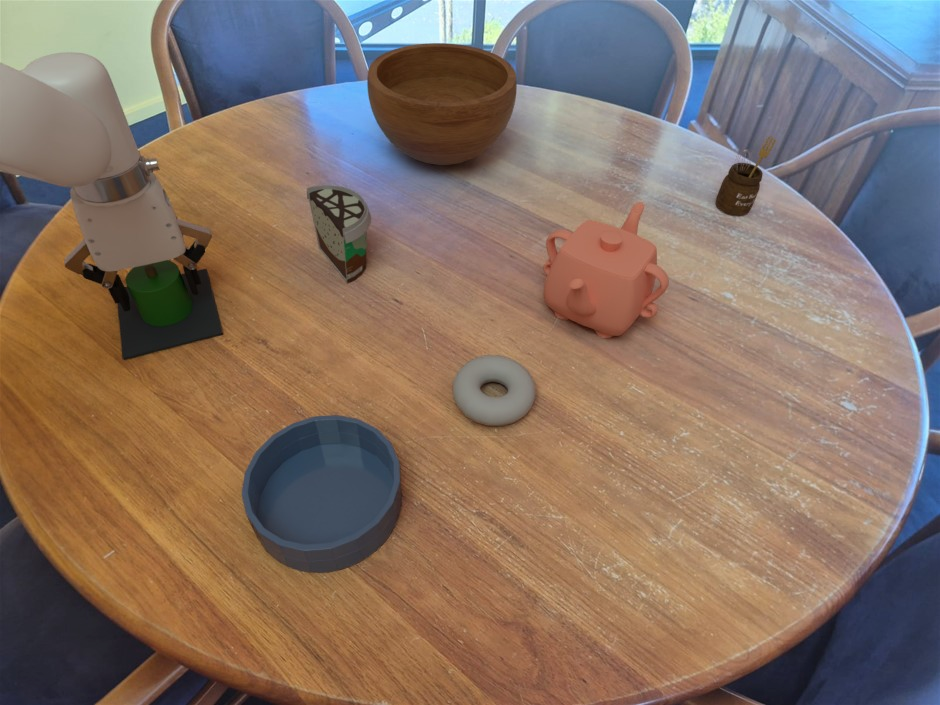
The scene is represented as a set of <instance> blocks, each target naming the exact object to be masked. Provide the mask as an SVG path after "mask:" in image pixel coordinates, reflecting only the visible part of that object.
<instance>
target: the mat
mask: <svg viewBox="0 0 940 705" xmlns="http://www.w3.org/2000/svg"><path fill="white" fill-rule="evenodd" d="M197 271H198V273H199V276H200V280H201V284H199V285H197V289H198V293H199V294H197V295H194V294H192V291H191V289H190V286H189V284H188V281H187V278H186V276H185V273H184V272H183V273H181V275H182V277H183V280H184V283H185V285H186V288H187V290H188V293H189V295H190V298H191V300H192V303H193V307H192V310H191V312H190V314H189V315H188V316H187V317H186V318H184V319H183V320H181V321H180V322H178V323H175V324H172V325H168V326H153V325H150V324H148V323H146V322H145V321H144V320H143V318H142V316H141V314H140V312H139V310H138V308H137V306H136V304H135V301H134V299H133V297H132V295H131V293H130V291H129V289H128V287H127V285H126V286H124V287H125V289H126V291H127V293H128V295H129V301H130V309H129V311H124V310H123V308H122V306H121V304H120V303H117V304H116V305H117V315H118V326H119V335H120V336H119V337H120V345H121V355H122V360H123V361H126V360H130V359H133V358H139V357H142V356H146V355H149V354H154V353H157V352H161V351H165V350H169V349H173V348H177V347H181V346H185V345H187V344H192V343H196V342H201V341H204V340H208V339H211V338H215V337H219V336H222V335H223V336H224V331H223V328H222V324H221V320H220V314H219V312H218V308H217V305H216V300H215V296H214V292H213V289H212V283H211V281H210V276H209V272H208V269H207V268H202V269H197Z"/></svg>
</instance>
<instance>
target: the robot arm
mask: <svg viewBox="0 0 940 705" xmlns="http://www.w3.org/2000/svg"><path fill="white" fill-rule="evenodd" d="M160 169H161V168H160V165H159V162H158V160H157V158H156V157H154V158H149V157H146V158H145V155H142V154H141V151H140V150H139V147H138V146H137V143H136V140H135V138H134V135H133V133H132V131H131V127H130V125H129V121H128V120H127V117H126V115H125V112H124V109H123V107H122V104H121V101H120V99H119V96H118V93H117V91H116V88H115V86H114V83H113V81H112V78H111V76H110V73H109V71H108V69H107V68H106V66H105V65H104V64H103V63H102V62H101V60H100V59H98V58H96V57H94V56H92V55H90V54H88V53H84V52H73V51H71V52H69V51H66V52H57V53H50V54H46V55H43V56H41V57H38V58H36V59H34V60H32V61H30V62H29V63H28V64H27V65H26V66H25V67H24V68H23V69H21V70H18V69H16V68H14V67H11V66H9V65H7V64H5V63H3V62H0V173H5V174H8V175H13V176H19V177H23V178H27V179H31V180H35V181H40V182H43V183H47V184H51V185H54V186H59V187H64V188H70V190H69V194H70V200H71V204H72V207H73V211H74V214H75V218H76V221H77V224H78V226H79V229H80V232H81V235H82V237H83V239H82V240H81V241H80V242H79V243H78V244H77V245H76V246H75V247H74V248H73V249H72V250H71V251H70V252H69V253H68V254H67V256H65V257H64V268H65V269H67V270H69V271H71V272H73V273H75V274H76V275H80V276H82V277H83V279H85V280H87V281H90V282H94V283H96V284H99V285H101V287H102V288H103V289H105V290H108V292H109V294H110V296H111V299H112V300H113V302H114V304H116V305H117V303H120V304H121V306H122V308H123V310H124V311H129V309H130V301H129V295H128V293H127V291H126V289H125V287H126V286H125V285H124V282H123V280H122V278H121V276H120V273H119V274H118V272H119V271H123V270H128V269H133V268H134V267H138V266H143V265H148V264H152V263H157V262H161V261H166V260H168V261H171V260H174V261H176V262H177V263H178V264H180V265H181V266H182V268H183V274H184V273H185V276H186V278H187V281H188V284H189V286H190V289H191V291H192V294H194V295H197V294H199V293H198V289H197V285H199V284H201V280H200V276H199V273H198V271H197V270H198V268H197V267H198V263H199V262H200V261H201V259H202V258H203V256H204V255H205V254H206V249H207V248H208V246H209V244H210V242H211V241H212V238H213V236H212V232H211V229H210V228H208V227H205V226H202V225H199V224H196V223H192V222H189V221H186V220H182V219H179V218H178V216H177V213H176V211H175V208H174V205H173V203H172V202H171V200H170V197H169V196H168V194H167V192H166V189H165V188H164V187H163V184H162V183H161V181H160V180H159V179H158V177H157V175H156V174H155V173H154V172H156V171H160ZM184 236H187V237H190V238H193V239H195V240H194V242H193V243H192V244H191V246H190V247H188V246H186V245H185V239H184ZM89 256H91V258H92V260H93V262H94V264H92V263H86V262H85V260H86V259H87V258H88V257H89Z"/></svg>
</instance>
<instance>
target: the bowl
mask: <svg viewBox="0 0 940 705" xmlns="http://www.w3.org/2000/svg"><path fill="white" fill-rule="evenodd" d="M366 85H367V86H366V87H367V95H368V101H369V106H370V108H371V112H372V115H373V117H374V119H375V121H376V123H377V125H378V127H379V128H380V130H381V132H382V133H383V134H384V136H385V137H386V138H387V139H388V141H389V142H390V143H391V144H392V145H393V146H394V147H395V148H397V149H398V150H399V151H401V153H404V154H405V155H406V156H408V157H410V158H412V159H414V160H416V161H419V162H421V163H425V164H429V165H436V166H450V165H457V164H461V163H465V162H468V161H470V160H472V159H475V158H476V157H478V156H480V155H481V154H483V153H485V152H486V151H487V150H488V149H489V148H491V147H492V146H493V145H494V144H495V143H496V142H497V140H498V139H500V137H501V135H502V134H503V133H504V131H505V129H506V127H507V126H508V124H509V122H510V120H511V117H512V115H513V113H514V112H513V111H514V108H515V104H516V98H517V92H518V91H517V90H518V81H517V73H516V70H515V69H514V66H512V64H511V63H510V62H509V61H507V60H506V59H505V58H503V57H502V56H499V55H497V54H496V53H493V52H491V51H488V50H486V49H482V48H479V47H475V46H470V45H464V44H457V43H456V44H455V43H445V42H438V43H437V42H433V43H432V42H430V43H418V44H411V45H406V46H402V47H398V48H395V49H391V50H389V51H386V52H384V53H383V54H381V55H379V56H377V57H376V58H375V59H374V60H373V61H372V62H371V63H370V65H369V67H368V69H367V84H366Z"/></svg>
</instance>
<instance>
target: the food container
mask: <svg viewBox="0 0 940 705" xmlns="http://www.w3.org/2000/svg"><path fill="white" fill-rule="evenodd" d="M306 198H307V200H308V202H309V207H310V211H311V215H312V216H311V217H312V220H313V225H314V230H315V234H316V240H317V244H318V249H319V250H320V252H321V253H322V254H323V255H324V257H325V258H326V259H327V260H328V261H329V263H330V264H331V265H332V266H333V267H334V269H335V270H336V271H337V272H338V274H339V275H340V276H341V277H342V279H343V280H344V281H345V282H346V283H347V284H349V283H351V282H354V281H355V280H357V279H359V278H360V277H361V276H362V275H363V273H364V272H365V271H366V268H367V264H368V250H367V249H368V248H367V247H368V242H367V241H368V240H367V239H368V238H367V237H368V236H367V235H368V234H367V233H368V232H367V231H368V229H369V228H370V225H371V224H372V223H371V222H372V217H371V216H372V215H371V212H370V209H369V207H368V204H367V202H366V201H365V199H364V198H363V197H362V195H361V194H359V192H357V191H355V190H353V189H351V188H349V187H345V186H341V185H335V184H321V185H319V184H318V185H314V186H308V187H306Z"/></svg>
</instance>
